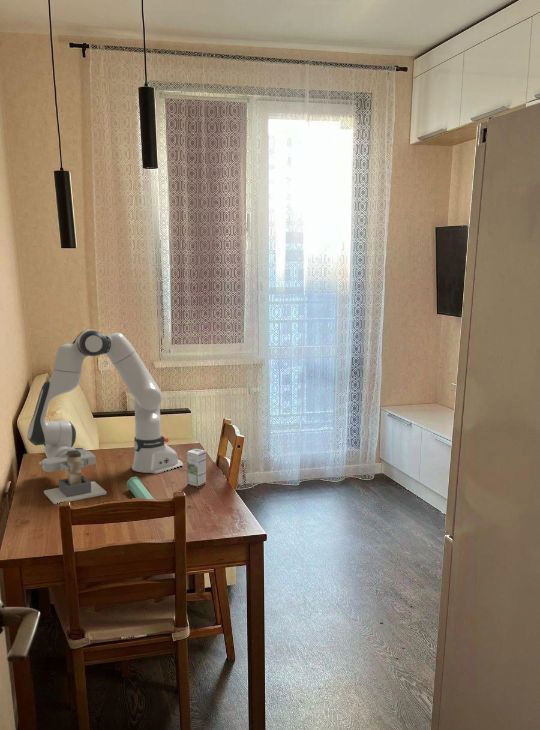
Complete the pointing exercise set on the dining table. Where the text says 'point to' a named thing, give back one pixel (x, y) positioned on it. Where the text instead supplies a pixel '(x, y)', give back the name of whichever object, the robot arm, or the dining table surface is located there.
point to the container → (138, 488)
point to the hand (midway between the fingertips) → (75, 467)
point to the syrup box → (196, 467)
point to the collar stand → (74, 491)
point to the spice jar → (74, 467)
